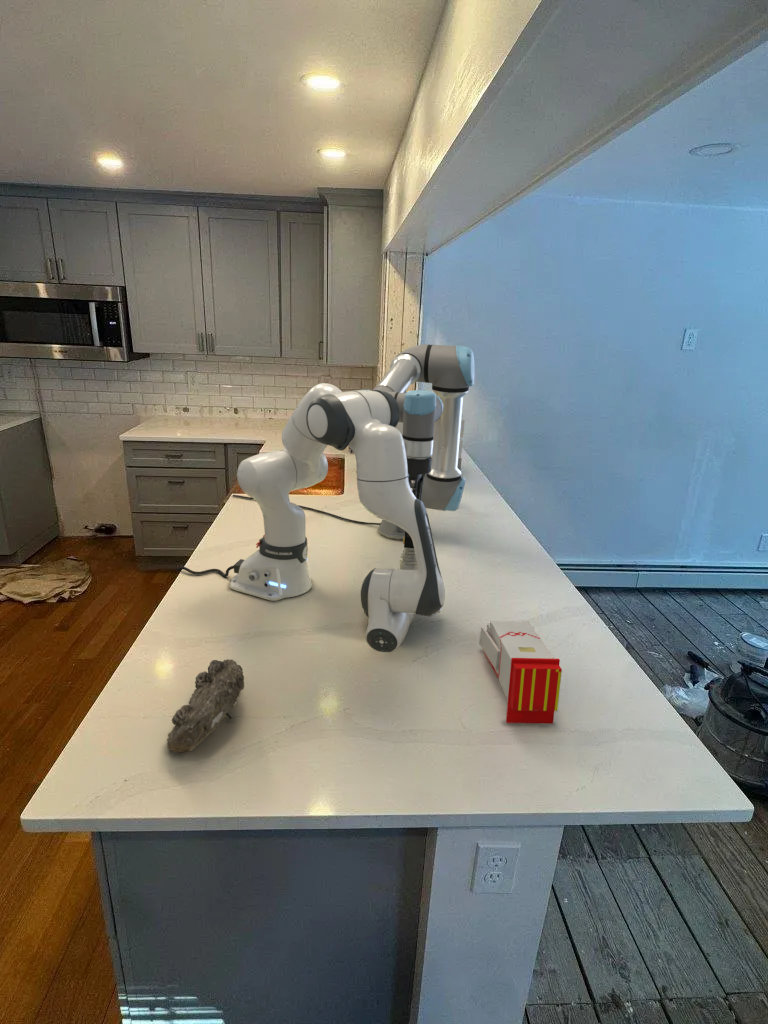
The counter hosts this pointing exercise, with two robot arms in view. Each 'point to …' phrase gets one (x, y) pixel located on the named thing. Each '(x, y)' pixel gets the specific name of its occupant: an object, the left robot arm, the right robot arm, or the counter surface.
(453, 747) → the counter surface
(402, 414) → the right robot arm
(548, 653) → the toy
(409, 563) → the bottle
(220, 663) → the fossil
